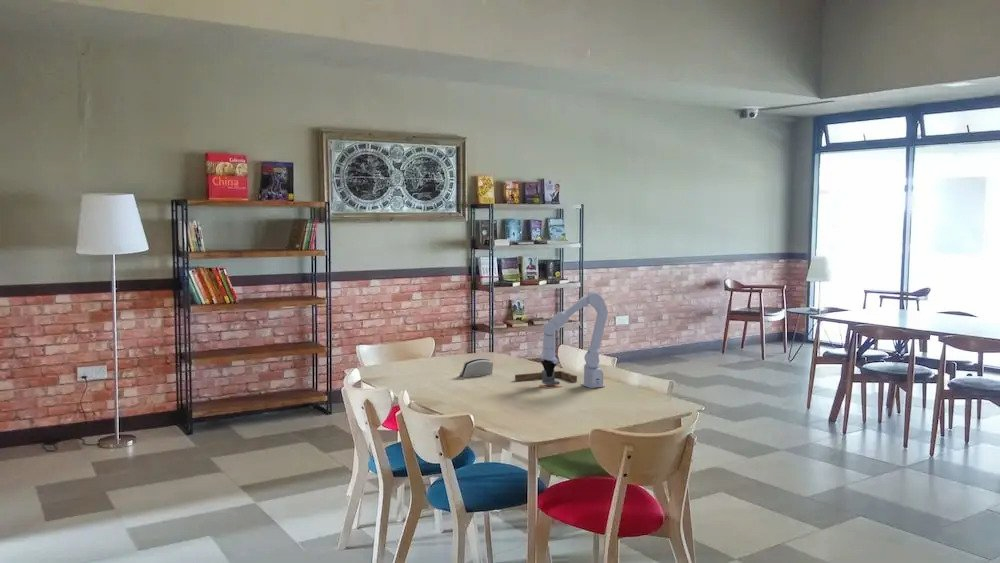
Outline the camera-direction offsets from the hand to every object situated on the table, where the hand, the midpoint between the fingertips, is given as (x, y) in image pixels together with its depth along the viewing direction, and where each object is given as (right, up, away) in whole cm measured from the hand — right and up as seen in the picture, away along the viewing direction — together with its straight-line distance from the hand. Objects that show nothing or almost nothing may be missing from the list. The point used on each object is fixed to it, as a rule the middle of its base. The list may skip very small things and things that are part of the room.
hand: (548, 376), depth 387 cm
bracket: (+1, -3, -2) cm, 4 cm away
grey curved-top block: (-34, -3, +24) cm, 42 cm away
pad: (+1, -4, -1) cm, 5 cm away
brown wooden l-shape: (-1, -4, +10) cm, 10 cm away
